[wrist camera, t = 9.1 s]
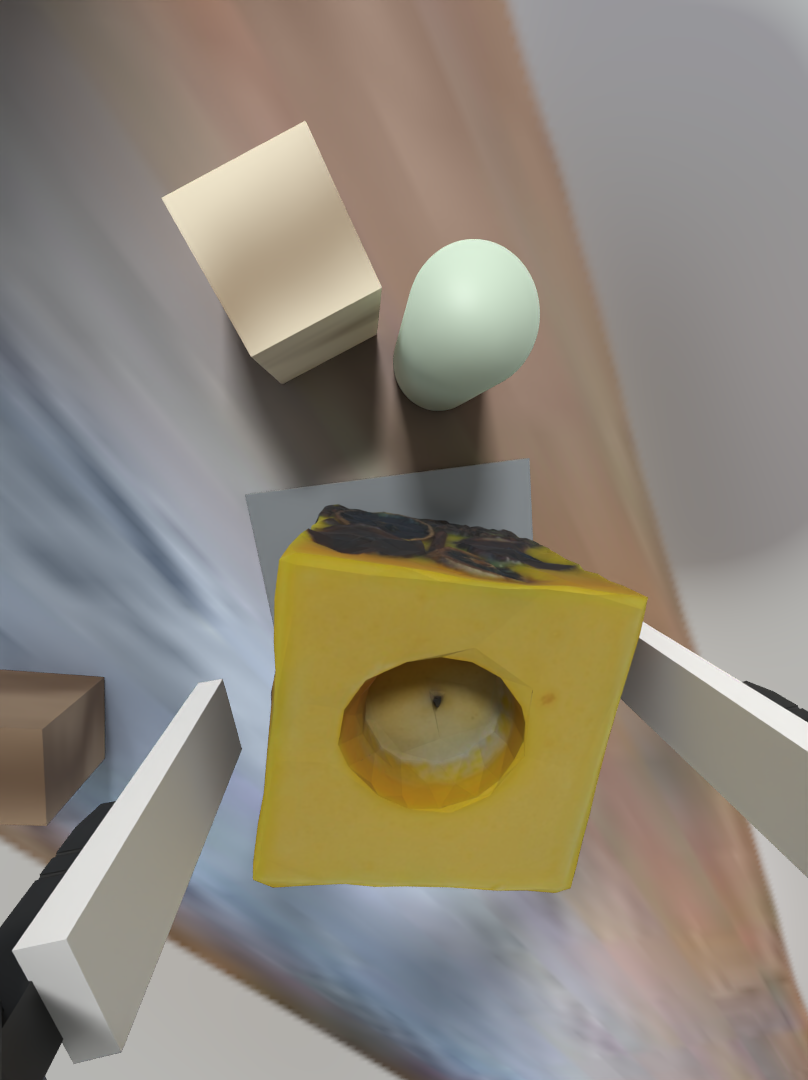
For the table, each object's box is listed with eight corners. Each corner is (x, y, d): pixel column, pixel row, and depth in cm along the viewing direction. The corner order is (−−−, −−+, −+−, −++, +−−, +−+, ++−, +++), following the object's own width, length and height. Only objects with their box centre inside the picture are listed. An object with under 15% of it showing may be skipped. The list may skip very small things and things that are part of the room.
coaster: (249, 493, 18) (245, 494, 18) (524, 458, 19) (529, 458, 19) (301, 735, 21) (299, 743, 21) (535, 694, 22) (539, 700, 22)
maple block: (221, 275, 16) (161, 198, 11) (322, 221, 16) (305, 121, 11) (282, 385, 17) (251, 357, 13) (376, 334, 17) (381, 287, 13)
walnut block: (-1, 667, 19) (-95, 721, 15) (105, 675, 20) (41, 729, 16) (5, 751, 20) (-82, 822, 16) (106, 756, 21) (46, 825, 17)
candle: (480, 700, 21) (575, 900, 12) (301, 687, 20) (243, 901, 10) (518, 528, 19) (671, 598, 10) (322, 500, 18) (273, 550, 8)
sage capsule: (387, 316, 17) (399, 245, 11) (479, 307, 18) (537, 234, 12) (399, 415, 18) (415, 396, 12) (486, 405, 19) (542, 382, 13)
